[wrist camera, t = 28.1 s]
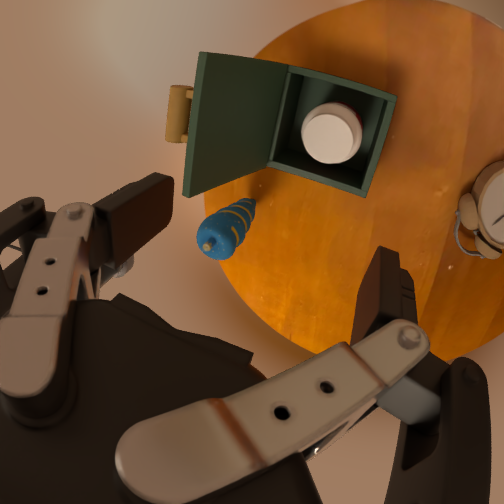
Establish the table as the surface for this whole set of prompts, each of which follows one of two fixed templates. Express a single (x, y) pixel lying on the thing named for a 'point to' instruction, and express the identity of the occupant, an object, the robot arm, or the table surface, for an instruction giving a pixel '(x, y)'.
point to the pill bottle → (332, 132)
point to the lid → (225, 118)
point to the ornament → (226, 229)
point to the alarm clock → (484, 212)
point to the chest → (315, 94)
